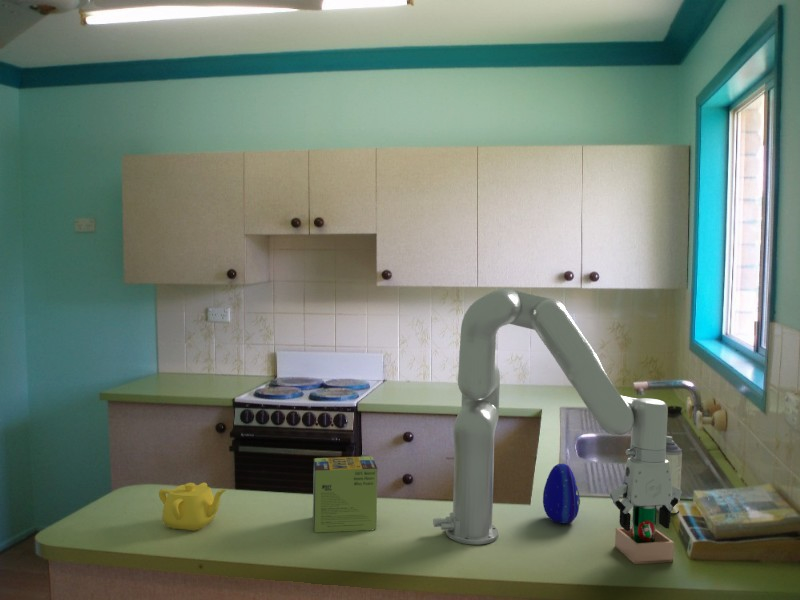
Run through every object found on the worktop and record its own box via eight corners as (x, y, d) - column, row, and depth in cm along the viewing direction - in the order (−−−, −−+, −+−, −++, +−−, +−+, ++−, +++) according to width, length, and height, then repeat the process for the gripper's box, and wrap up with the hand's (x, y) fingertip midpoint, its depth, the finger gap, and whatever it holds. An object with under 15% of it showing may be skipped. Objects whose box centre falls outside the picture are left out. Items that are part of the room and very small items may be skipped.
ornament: (581, 531, 169) (583, 471, 168) (543, 528, 170) (545, 469, 169) (576, 514, 180) (578, 458, 179) (541, 512, 181) (543, 456, 180)
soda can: (635, 544, 160) (637, 494, 159) (657, 551, 157) (660, 500, 156) (627, 551, 156) (629, 500, 155) (649, 558, 153) (652, 506, 152)
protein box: (377, 530, 167) (378, 468, 166) (313, 533, 165) (314, 470, 163) (371, 514, 177) (372, 455, 176) (312, 517, 175) (312, 457, 174)
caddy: (635, 564, 151) (636, 544, 151) (614, 546, 160) (615, 528, 160) (673, 561, 153) (674, 542, 152) (650, 544, 162) (651, 526, 162)
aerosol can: (652, 503, 189) (656, 432, 188) (679, 507, 187) (682, 435, 185) (651, 511, 183) (654, 438, 182) (679, 515, 180) (682, 441, 179)
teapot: (212, 511, 177) (212, 472, 177) (227, 528, 166) (227, 487, 166) (157, 520, 171) (157, 480, 170) (168, 539, 159) (168, 496, 159)
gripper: (620, 460, 150) (617, 536, 151) (692, 457, 153) (688, 531, 154) (604, 450, 157) (601, 523, 158) (673, 447, 160) (669, 519, 161)
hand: (644, 527), depth 156 cm, fingers open, 9 cm apart
